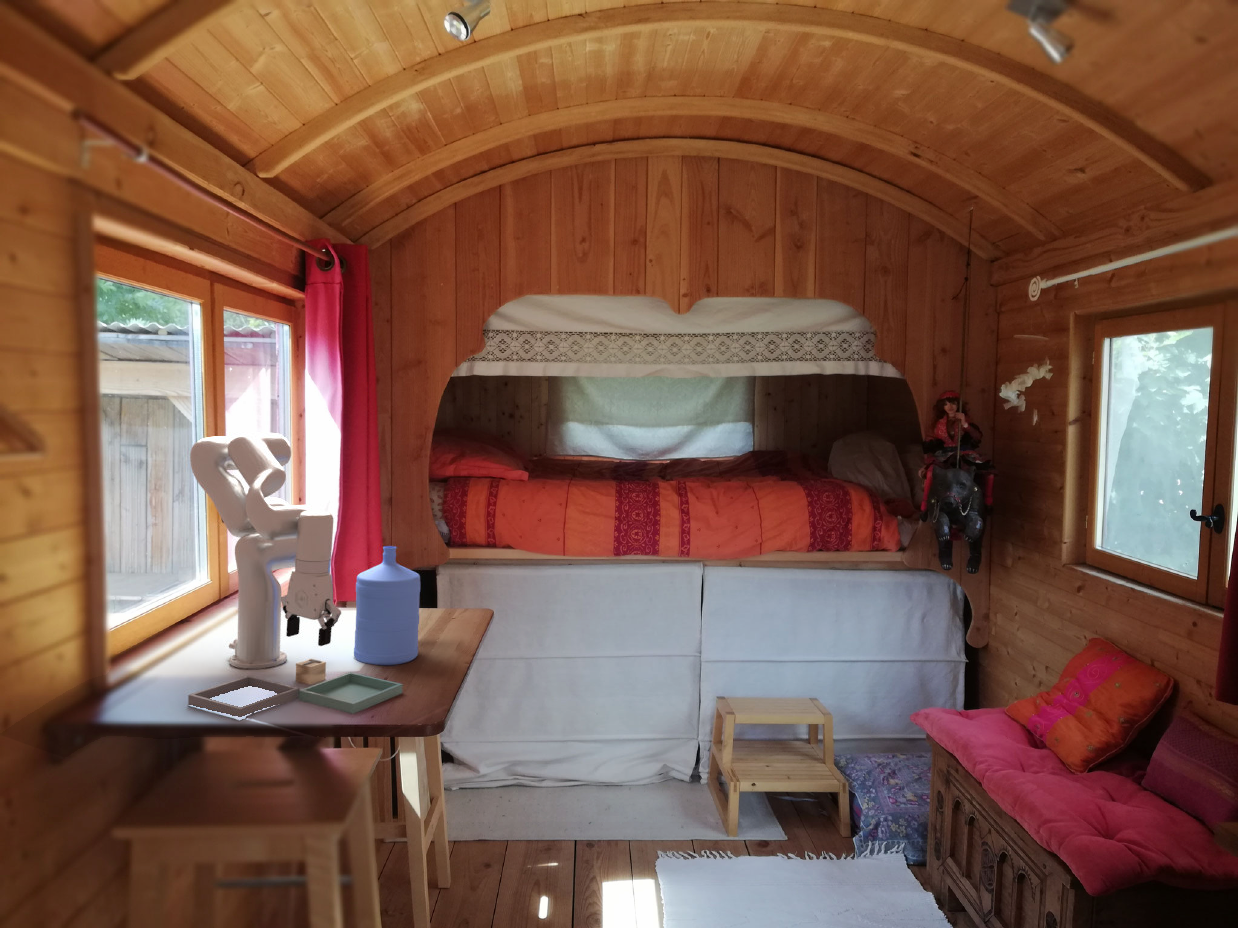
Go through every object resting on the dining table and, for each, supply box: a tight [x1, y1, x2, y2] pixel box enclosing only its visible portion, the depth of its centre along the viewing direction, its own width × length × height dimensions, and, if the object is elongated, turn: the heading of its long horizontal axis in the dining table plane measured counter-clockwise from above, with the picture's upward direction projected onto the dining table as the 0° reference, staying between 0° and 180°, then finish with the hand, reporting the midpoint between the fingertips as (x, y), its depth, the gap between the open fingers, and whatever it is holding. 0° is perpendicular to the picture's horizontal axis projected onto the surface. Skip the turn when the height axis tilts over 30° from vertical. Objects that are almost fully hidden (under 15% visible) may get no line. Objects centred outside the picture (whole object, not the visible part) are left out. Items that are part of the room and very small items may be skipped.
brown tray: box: [187, 675, 300, 717], centre depth 174 cm, size 15×15×2 cm
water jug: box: [353, 545, 421, 666], centre depth 209 cm, size 16×16×28 cm
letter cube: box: [295, 658, 327, 686], centre depth 189 cm, size 4×4×5 cm
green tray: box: [298, 671, 403, 715], centre depth 180 cm, size 15×15×2 cm
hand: (308, 639), depth 189 cm, fingers open, 9 cm apart
